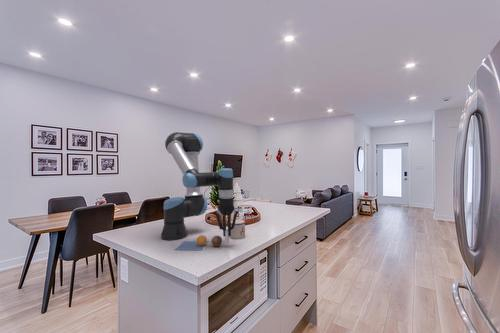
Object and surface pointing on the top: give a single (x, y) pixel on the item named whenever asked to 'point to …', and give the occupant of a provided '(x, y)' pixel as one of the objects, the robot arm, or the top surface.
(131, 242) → the top surface
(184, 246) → the mark
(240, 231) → the teacup with lid
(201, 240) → the orange ball
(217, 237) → the walnut ball
